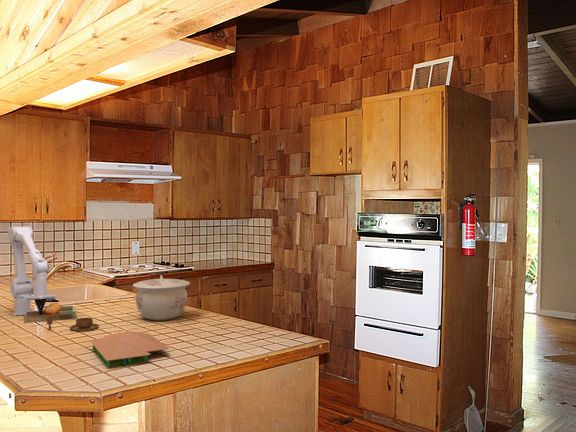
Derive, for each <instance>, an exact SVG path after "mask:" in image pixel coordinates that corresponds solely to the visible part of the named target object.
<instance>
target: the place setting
mask: <svg viewBox="0 0 576 432" xmlns="http://www.w3.org/2000/svg"><path fill="white" fill-rule="evenodd" d="M93 319H94V318H92V317H80V318H76V319H75V324H72V325H71V326H69V329H70V331H72V332H76V333H77V332H78V333H80V332H81V333H83V332H92V331H95V330H98V328H99V326H101V325H100V324H97V323H93V322H94V321H93ZM53 322H54V321H53V318H52V317H50V318H47V321H46V324H47V325H48V332H50V331H52V326H51V325H53ZM59 333H60V334H61V333H63V331H59Z"/></svg>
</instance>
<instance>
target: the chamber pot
mask: <svg viewBox="0 0 576 432" xmlns="http://www.w3.org/2000/svg"><path fill="white" fill-rule="evenodd" d="M190 285H191V282H190V281H188V280H184V279H178V278H163V275H160V278H152V279H146V280H141V281H138V282H134V283H133V284H132V287H133V288H135V289H137V291H136V294H135V304H136V308H137V310H138V311H139V313H140V315H141V316H142V317H143V318H144V319H146V320H149V321H158V322H159V321H170V320H174V319H176V318H178V317H179V316H181V314H182V313H183V312H184V310H185V308H186V306H187V301H188V292H187V290H186V287H188V286H190Z"/></svg>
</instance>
